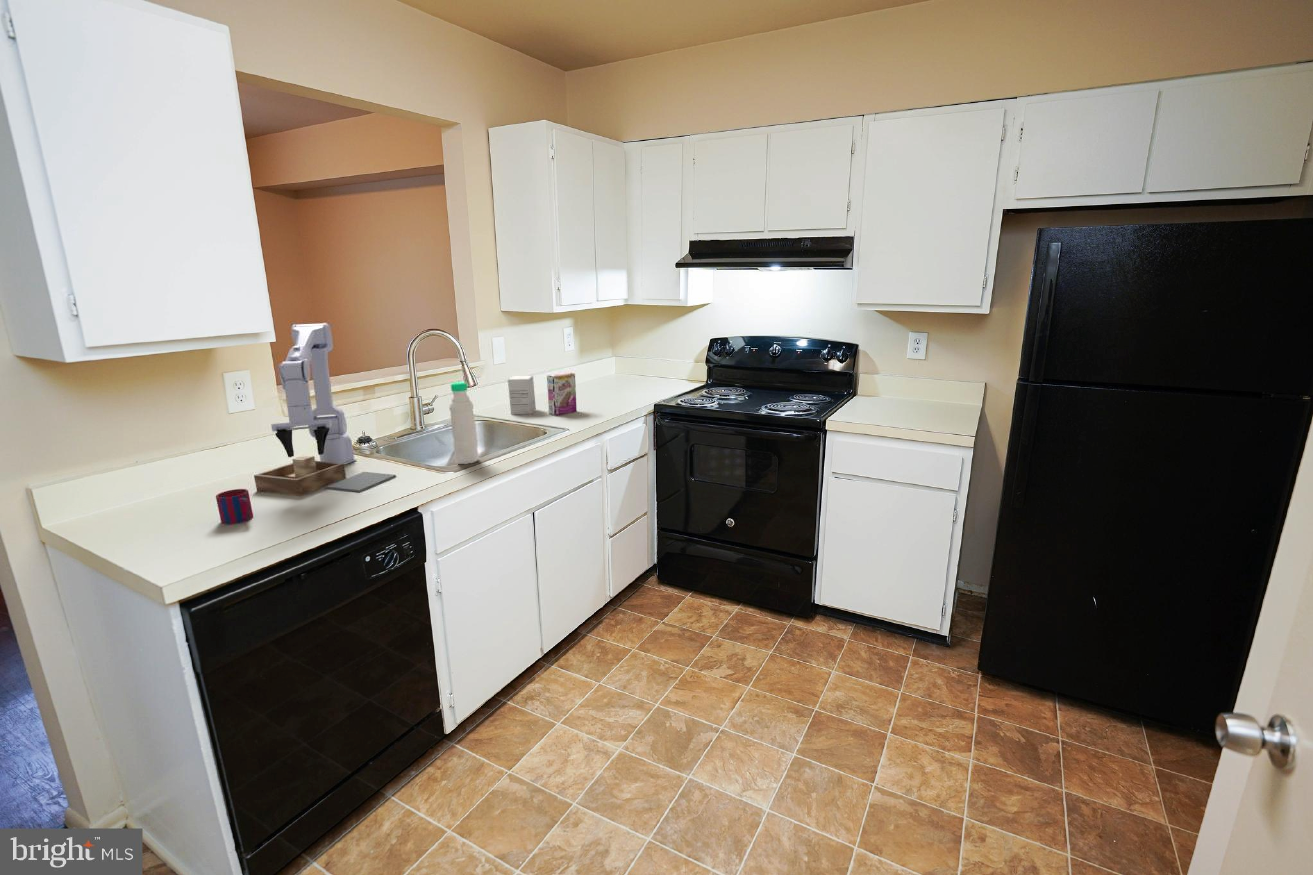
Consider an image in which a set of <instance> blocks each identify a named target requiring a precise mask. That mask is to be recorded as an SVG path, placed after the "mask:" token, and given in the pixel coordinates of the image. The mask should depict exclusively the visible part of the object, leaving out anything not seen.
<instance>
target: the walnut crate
mask: <svg viewBox="0 0 1313 875" xmlns="http://www.w3.org/2000/svg"><path fill="white" fill-rule="evenodd" d="M315 463H316V469H317V472H315V473H312V474H309V475H306V476H295V472H294V466H293V462H291V463H288V464H285V465H281V466H278V467H276V468H273V469H269V470H267V471H263V472H260V473H258V474H255V475H253V477H254V478H253V479H254V483H255V488H256V491H257V492H265V493H271V494H272V493H273V494H280V495H288V496H295V497H298V496H299V497H301V496H304V495H306V494H308V493H311V492H314V491H317V490H319V489H321V488H325V487H326V486H328V485H331V484H333V483H336V482H339V481H341V480H344V479H346V478H347V476H346V470H345V465H344V463H334V462H324V461H319V460H315Z"/></svg>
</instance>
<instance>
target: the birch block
mask: <svg viewBox="0 0 1313 875" xmlns="http://www.w3.org/2000/svg"><path fill="white" fill-rule="evenodd" d="M291 460H292V463H293V466H294V472H295V476H306V475H309V474H312V473H315V472H317V469H316V463H315V461H316V458H315V455H308V454H307V455H300V456H298V457H294V458H292V459H291Z"/></svg>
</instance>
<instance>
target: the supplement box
mask: <svg viewBox="0 0 1313 875" xmlns="http://www.w3.org/2000/svg"><path fill="white" fill-rule="evenodd" d="M534 384H535V383H534V375H513V376H511V377H510V378H508V379H507V385H508V386H507V387H508V394H509V395H508V397H509V406H510V415H532V414H533V413H534V412H535V411H536V409H537V408H536V407H537V406H536V394H535V385H534Z"/></svg>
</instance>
